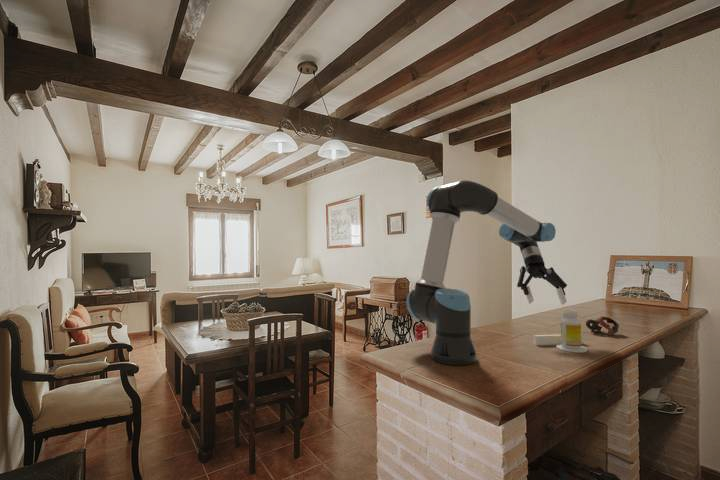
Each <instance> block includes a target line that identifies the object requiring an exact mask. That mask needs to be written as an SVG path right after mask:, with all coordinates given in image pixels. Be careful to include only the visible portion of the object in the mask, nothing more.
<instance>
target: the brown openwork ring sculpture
mask: <svg viewBox="0 0 720 480" xmlns="http://www.w3.org/2000/svg"><path fill="white" fill-rule="evenodd" d="M605 321H606V322H605ZM610 324H612V327H611V325H610ZM585 326H586V327H587V329H588V330H590V332H591V333H593V332H595V331H599V332H601V330H602V329H603V328H605V329H606V330H608V331H607V332H606V335H607V337H612V335H614V334H615V335H616V334H617V333H618V332H619V328H620V325H619V323H618V322H617V321H616V320H614V319H612V318H611V317H607V316H604V315H603V316H600V318H597V319H595V320H594V319H588V320H586V321H585Z"/></svg>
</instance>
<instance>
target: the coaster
mask: <svg viewBox="0 0 720 480" xmlns="http://www.w3.org/2000/svg"><path fill="white" fill-rule="evenodd" d="M555 346H556V348H557V349H558V350H560V351H562V352H568V353H576V354H579V353H580V354H581V353H586V352H588V350H589V349H588V348H587V346H583V345H581V348H580V349H569V348H565V347H563V346H561V344H557V345H555Z"/></svg>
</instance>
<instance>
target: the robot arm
mask: <svg viewBox="0 0 720 480" xmlns="http://www.w3.org/2000/svg"><path fill="white" fill-rule="evenodd" d="M426 206H427V209H428V211H429V216H430V218H431V219H432V220H431V227H430V231H429V235H428V241H427V245H426V247H427V248H426V250H425V251H426V252H425V256H424V261H423V266H422V271H421V276H420V278H419V280H416V282H415V286H414V288H413V289H411V291H408V292H409V293H407V296H406V300H405V302H406V308H407V311H408V312H409V314H410V316H412V317H414V318H415V319H417V320H419V321H422V322H424V321H425V322H428V323H432V324H435V338H434V341H433V343H432V346H431V350H430V357H431V359H432V360H433V361H434V362H436V363H440V364H443V365H448V366H449V365H450V366H469V365H472V364H475V363H476V362H477V352H476V348H475V346H474V342H473V340H472V336H471V331H472V329H471V316H472V315H471V308H472V307H471V302H470V301H471V300H470V296H469V294H468V293H467V292H465V291H463V290H459V289H455V288H454V289H453V288H447V287H446V286H445V285H444V281H445V275H446V271H447V265H448V261H449V255H450V249H451V245H452V240H453V234H454V229H455V224H456V223H457V222H459V221H460V218H461V213H464V212H473V213H477V214H479V215H483V216H485V215H487V216H489V217H491V218H492V219H495V220H496V221H498V222H499V223H502V224H501V225H500V227H499V229H498V235H499V236H500V237H501V238H502V239H504V240H505V241H508V242H509V243H512V244H514V245H515V246H517V247H519V250H520V253H521V256H522V259H523V262H524V265H522V266H521V267H520V268H519V272H520V274H519V277H518V281H517V285H516V287H517V288H520V290H522V292H523V294H524V296H526V298H527V301H528V304H532V303H533V302H534V300H535V299H534V296H533V293H532V290H531V287H530V285H529V283H530V281H531V280H532V278H534V279H543V280H545V281H546V282H548V283H549V284H551V286H553V287H554V288H555V289H556V293H557V295H558V299H559V302H560V304H561V305H562V306H563V305H565V304H566V303H567V299H566V291H565V290H564V289H565V288H567V286H568V284H567V283H566V282H565V281H564V280H563V279H562V278H561V277H560V276H559V275H558V273H556V271H555V269H554V268H553V267H549V268H546V265H545V261H544V258H543V255H542V253H541V249H540V247H539V245H538V242H540V243H541V242H542V243H545V242H551V241H553V240H554V239H555V237H556V232H557V231H556V227H555V225H554V224H553V223H551V222H540V221H539V220H537V219H535V218H533V217H532V216H530V215H528V214H527V213H525V212H523V211H522V210H520V209H519V208H517V207H515V206H514V205H512V204H511V203H509V202H508V201H505V200H503V198H501V197H499V195H498V193H497V192H496V191H495V190H493V189H491V188H490V187H487V186H485V185H483V184H481V183H478V182H475V181H471V180H465V179H463V180H459V181H456V182H451V183H447V184H446V183H444V184H440V185H437V186H436V187H434V188H433V189H431V190H430V192H428V195H427V198H426ZM526 272H527V273H528V274H529V275H528V277H526V276H525V275H526ZM525 277H526V280H525V282H524V279H525Z"/></svg>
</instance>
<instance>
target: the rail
mask: <svg viewBox="0 0 720 480" xmlns="http://www.w3.org/2000/svg"><path fill="white" fill-rule="evenodd" d="M532 336H533V345H535V346H556V345H557V344H561V333H559V334H557V333H556V334H536V335H535V334H533V335H532ZM583 337H584V335H583V334H582V333H581V345H583V344H584V343H583V341H584V339H583Z"/></svg>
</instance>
